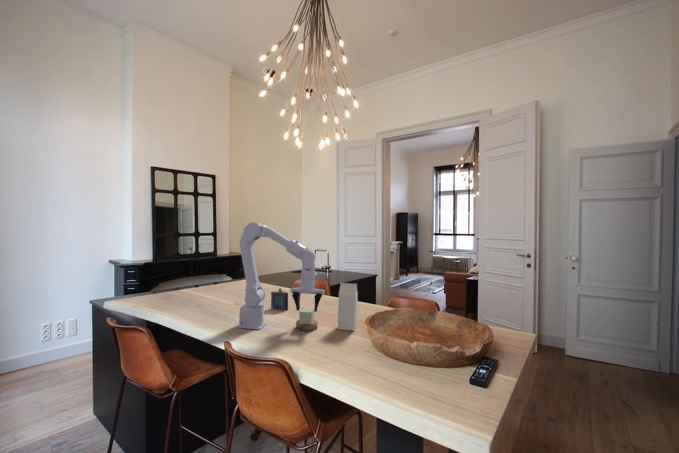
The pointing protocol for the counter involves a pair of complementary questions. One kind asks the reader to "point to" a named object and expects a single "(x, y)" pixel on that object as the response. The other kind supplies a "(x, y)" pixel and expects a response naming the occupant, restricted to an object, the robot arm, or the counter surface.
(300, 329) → the base
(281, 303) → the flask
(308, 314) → the cube
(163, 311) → the counter surface
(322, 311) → the counter surface
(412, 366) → the counter surface
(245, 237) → the robot arm
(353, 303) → the milk carton
